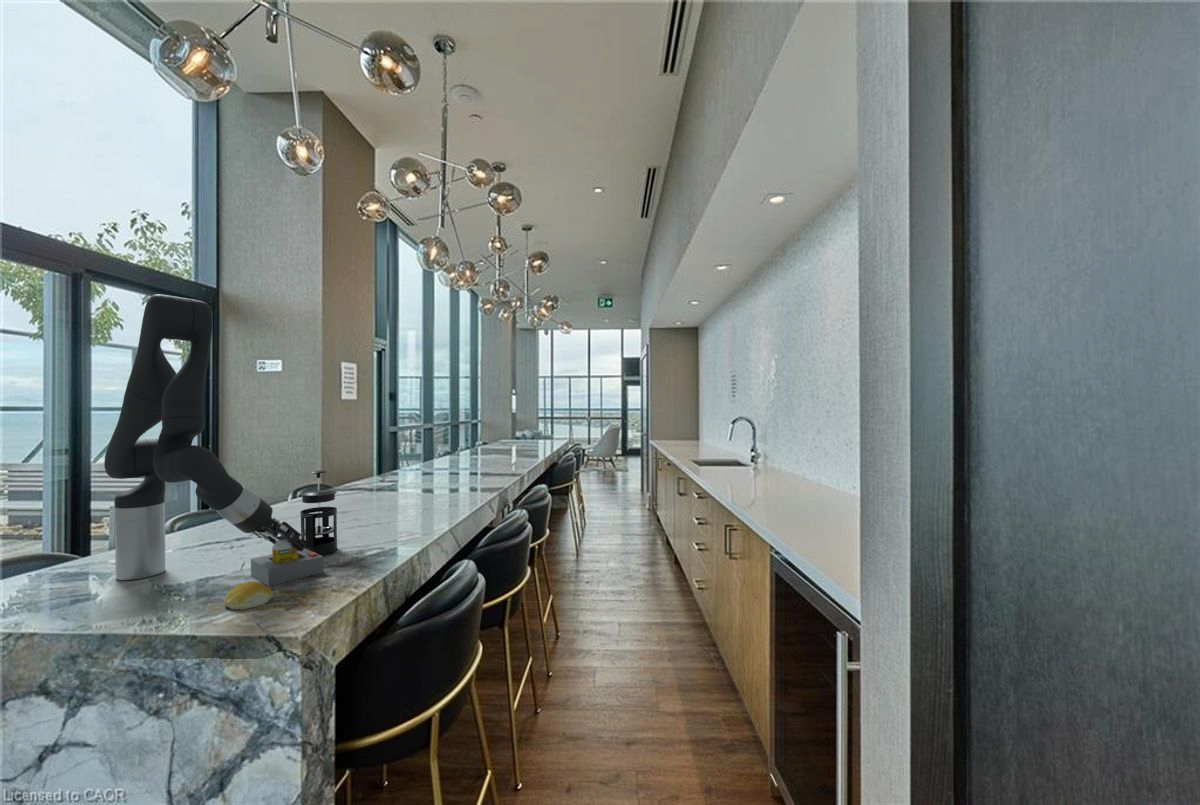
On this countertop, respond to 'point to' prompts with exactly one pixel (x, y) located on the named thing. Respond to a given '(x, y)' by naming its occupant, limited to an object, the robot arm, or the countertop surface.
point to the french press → (308, 529)
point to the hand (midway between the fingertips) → (293, 546)
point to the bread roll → (248, 596)
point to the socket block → (286, 568)
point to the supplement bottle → (283, 552)
